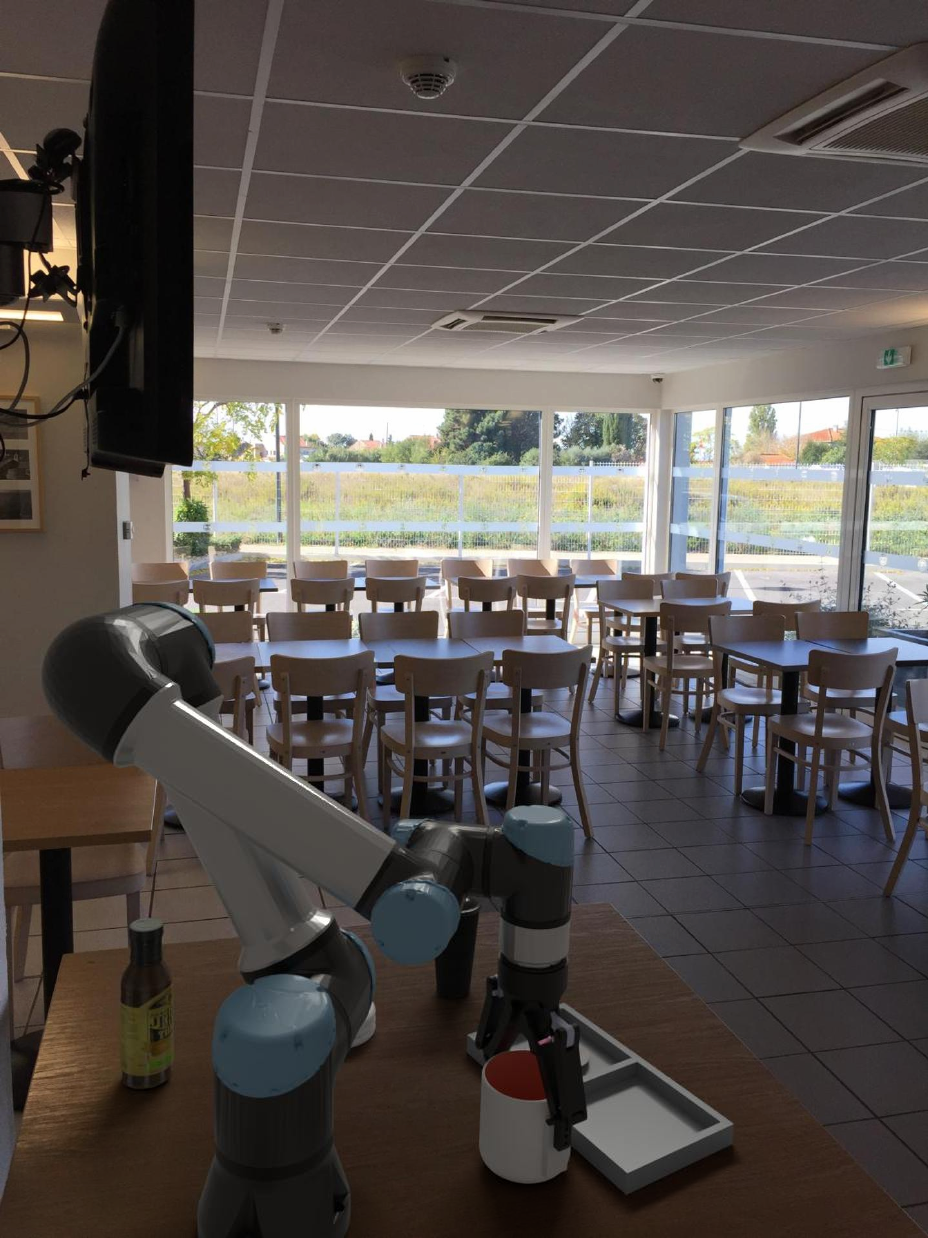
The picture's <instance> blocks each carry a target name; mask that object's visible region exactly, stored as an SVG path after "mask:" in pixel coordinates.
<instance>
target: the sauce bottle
mask: <svg viewBox="0 0 928 1238" xmlns="http://www.w3.org/2000/svg"><path fill="white" fill-rule="evenodd" d="M164 927H165V925H164V923H163V920H161V919H158V918H152V917H145V918H140V919H136V920H134V921H132V923H130V924H129V926H128V937H129V940H130V955H129V961H130V962H129V963H128V965H127V967H126V969H124V971H123V973H122V975H121V979H120V998H119V1015H120V1016H119V1029H120V1030H119V1032H120V1035H119V1036H120V1038H119V1039H120V1041H119V1043H120V1045H119V1047H120V1048H119V1049H120V1050H119V1051H120V1058H119V1059H120V1064H119V1065H120V1069H121V1079H122V1083H123V1084H124V1086H127V1087H128V1088H132V1089H135V1090H136V1089H137V1090H139V1089H140V1090H143V1089H144V1090H146V1089H150V1088H151V1089H152V1088H155V1087H157V1086H159V1085H161V1084H163V1083H164V1082H166V1081H168V1080H169V1079H170V1078H171V1076H172V1072H173V1062H174V981H173V975H172V971H171V969H170V967H169V966H168V964H167V963H166V962H165V960H164V959H163V958H164V953H163V936H164V933H165V929H164Z"/></svg>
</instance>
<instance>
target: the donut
mask: <svg viewBox="0 0 928 1238" xmlns="http://www.w3.org/2000/svg"><path fill="white" fill-rule="evenodd" d="M550 1040H551V1036H549V1037H548V1038H547V1039H544V1040H541V1041H538V1042H539V1045H540V1044H543V1043H546V1042H549V1041H550ZM526 1049H530V1048H529V1045H528V1046H527V1047H526ZM579 1052H580V1060H581V1066H584V1065H585V1064H586V1063H587V1062H588V1061H589V1059H590V1055H589V1053H588V1051H587V1050H586V1049H585V1048H584V1047H583V1046H581V1045H579Z"/></svg>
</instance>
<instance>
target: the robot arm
mask: <svg viewBox="0 0 928 1238" xmlns="http://www.w3.org/2000/svg"><path fill="white" fill-rule="evenodd" d="M45 652H46V653H45V654H44V655H45V656H44V658H43V661H42V666H41V687H42V691H43V694H44V698H45V701H46V702H47V704H48V707H49V708H50V710H51V712H52V714H53V715H54V717H55V718H56V719H57V720H58V721H59V723H60V724H61V725H62V726H63V727H64V728H65V729H66V730H67V731H68V732H69V733H70V734H71V735H72V736H74V737H75V739H76V740H78V741H79V742H80V743H82V744H83V745H84V746H85V747H87V748H88V749H90V750H91V751H92V752H94V753H95V754H96V755H97V756H99V757H101V758H103V759H104V760H106V761H107V762H109V763H110V764H112V765H113V766H115V767H116V768H118V769H122V768H128V767H132V766H133V767H137V768H138V769H139V770H141V771H143V773H145V774H147V775H148V776H150V777H152V779H155V780H156V781H158V782H159V783H160V784H161V786H162V788H163V790H164V793H165V794H166V797H167V798H168V800H169V802H170V804H171V805H172V808H173V810H174V812H175V814H176V817H178V820H179V822H180V824H181V825H182V827H183V829H184V831H185V834H186V836H187V838H188V840H189V842H190V844H191V845H192V847H193V849H194V852H195V853H196V855H197V857H198V859H199V861H200V863H201V866H202V867H203V868H204V869H203V870H204V871H205V873H206V875H207V878H208V879H209V881H210V883H211V885H212V886H213V889H214V891H215V893H216V894H217V897H218V899H219V901H220V903H221V904H222V906H223V909H224V910H225V913H226V915H227V916H228V919H229V921H230V922H231V925H232V926H233V929H234V930H235V933H236V935H237V937H238V939H239V940H240V942H241V944H242V945H241V946H242V949H241V953H240V956H239V958H238V961H237V968H238V971H239V973H240V975H241V976H242V978H243V981H244V983H245V984H242V985H241V986H240V987H238V988H237V989H236V990H234V991H233V992H232V993H231V994H229V996H228V997H227V998H226V999H225V1000H224V1001H223V1002H222V1004H221V1006H220V1008H219V1009H218V1011H217V1013H216V1016H215V1021H214V1026H213V1035H212V1044H211V1049H210V1051H211V1059H212V1068H213V1069H212V1074H213V1076H212V1077H213V1080H212V1081H213V1082H212V1083H213V1084H212V1085H213V1121H214V1123H213V1125H214V1127H213V1129H214V1156H213V1159H212V1162H211V1165H210V1167H209V1171H208V1173H207V1175H206V1176H207V1177H206V1180H205V1182H204V1186H203V1188H202V1192H201V1195H200V1198H199V1200H198V1207H197V1217H196V1218H197V1219H196V1220H197V1238H345V1236H346V1234H347V1231H348V1230H349V1227H350V1223H351V1216H352V1215H351V1214H352V1213H351V1204H352V1203H351V1202H352V1201H351V1199H352V1197H351V1189H350V1186H349V1185H350V1184H349V1181H348V1180H347V1176H346V1174H345V1171H344V1169H343V1165H342V1163H341V1160H340V1156H339V1155H338V1151H337V1149H336V1146H335V1143H334V1123H335V1122H334V1121H335V1120H334V1115H335V1114H334V1112H335V1111H334V1110H335V1109H334V1107H335V1106H334V1104H335V1101H334V1099H335V1096H334V1094H335V1093H334V1092H335V1083H336V1081H337V1076H338V1074H339V1072H340V1070H341V1068H342V1066H343V1064H344V1062H345V1059H346V1057H347V1055H348V1054H349V1051H350V1049H352V1048H351V1046H352V1044H353V1042H354V1039H355V1037H356V1035H357V1033H358V1031H359V1029H360V1027H361V1026H362V1025H363V1023H364V1022H365V1020H366V1018H367V1016H368V1014H369V1010H370V1008H371V1005H372V1001H373V1000H374V995H375V991H376V985H377V983H376V982H377V978H376V977H377V976H376V974H377V973H376V968H375V963H374V961H373V957H372V955H371V953H370V951H369V949H368V948H367V946H366V945H365V944H364V942H363V941H362V940H361V938H359V937H358V936H357V935H356V934H355V933H353V932H352V931H346V930H345V929H344V928H343V927H342V926H340V925H339V924H338V922H337V920H336V917H335V916H334V914H333V913H332V912H331V910H327V909H324V908H320V907H317V906H314V905H313V903H312V901H311V898H310V897H309V895H308V893H307V891H306V889H305V886H304V885H303V883H302V881H301V879H300V877H299V875H301V877H303V878H305V879H306V880H308V881H309V882H311V883H312V884H313V885H315V886H317V887H318V888H320V889H321V890H323V891H324V892H326V893H327V894H329V895H330V896H332V897H333V898H335V899H337V900H339V901H340V902H341V903H342V904H344V905H346V906H347V907H348V908H350V909H352V910H353V911H355V913H357V914H358V915H360V916H361V917H362V918H364V919H366V920H367V921H368V922H370V932H371V937H372V938H373V940H374V942H375V944H376V946H377V947H378V949H379V950H380V952H381V953H382V954H383V955H384V956H386V958H388V959H390V960H391V961H394V962H396V963H398V964H402V965H405V966H406V965H408V966H416V965H417V966H419V965H423V964H426V963H429V962H430V961H432V960H435V958H436V957H437V956H439V955H440V954H441V953H442V952H443V950H444V949H445V948H446V947H447V945H448V943H449V940H450V938H452V936H453V935H454V933H455V932H456V930H457V927H458V923H459V921H460V915H461V912H462V909H463V905H464V902H465V901H466V898H467V896H472V897H478V898H483V899H492V898H494V899H499V900H500V901H499V902H500V906H499V907H500V910H499V921H498V922H499V923H498V942H497V945H498V949H499V952H498V954H497V974H492V975H489V976H487V977H486V983H485V984H486V985H485V986H486V989H485V992H486V995H485V997H484V1003H483V1006H482V1011H481V1014H480V1019H479V1023H478V1027H477V1031H476V1032H477V1034H476V1038H475V1046H476V1048H477V1049H478V1050H480V1049H482V1051H483V1052H484V1054H483V1057H484V1060H485V1062H487V1061H488V1060H489V1059H490V1058H492V1057H493V1056H495V1055H497V1054H499V1053H502V1052H505V1051H509V1050H510V1049H511V1047H512V1045H513V1044H514V1042H515V1040H516V1038H517V1037H518V1035H519V1033H521V1034H523V1035H524V1036H525V1038H526V1039H527V1040H528V1044H529V1048H530V1051H531V1053H532V1054H534V1055H535V1056H536V1059H537V1063H538V1067H539V1071H540V1075H541V1079H542V1083H543V1087H544V1091H545V1095H546V1099H547V1103H548V1107H549V1112H550V1116H547V1117H545V1129H544V1149H543V1170H542V1174H543V1175H544V1176H545V1177H546V1178H549V1177H551V1176H553V1175H556V1174H558V1173H559V1174H560V1173H563V1172H566V1171H567V1170H568V1163H567V1160H568V1148H570V1145H571V1134H572V1126H573V1125H575V1124H578V1123H580V1122H583V1121H585V1120H587V1118H588V1115H587V1107H586V1099H585V1091H584V1084H583V1076H582V1068H581V1060H580V1052H579V1040H580V1027H579V1025H578V1024H577V1023H573V1024H570V1025H569V1024H567V1023H566V1022H565V1021H564V1020H563V1019H561V1012H560V1007H559V1004H560V1001H561V998H562V997H563V995H564V994H565V992H566V991H567V989H568V982H569V981H568V980H569V965H570V964H569V962H570V961H569V960H570V959H569V956H568V954H569V950H570V933H571V931H570V929H571V913H572V901H573V900H572V897H573V884H574V883H573V882H574V872H575V871H574V870H575V869H574V867H575V825H574V823H573V820H572V819H571V817H570V816H569V815H568V814H567V813H566V812H564V811H563V810H560V809H558V808H555V807H551V806H548V805H540V804H531V805H528V806H527V805H518V806H515V807H513V808H510V809H509V810H508V811H506V813H505V814H504V817H503V822H502V823H501V825H499V824H498V825H497V824H496V825H491V824H490V825H487V824H476V823H466V822H455V821H445V820H437V819H436V820H435V819H433V818H428V817H427V818H423V819H417V818H416V819H414V818H413V819H412V818H411V819H409V818H408V819H407V818H404V819H400V820H398V821H397V822H396V823H395V824H394V825H393V826H392V829H391V831H390V836H389V835H387V834H386V833H384V832H383V831H381V830H380V829H379V828H378V827H377V828H376V827H375V826H374V825H373V824H371V823H370V822H368V821H366V820H364V819H363V818H362V817H360V816H359V815H357V814H356V813H355V812H353V811H351V810H350V809H348V808H346V806H344V805H342V804H341V803H339V802H337V801H336V800H334V799H333V798H332V797H330V796H329V795H327V794H326V793H324V792H322V791H321V790H320V789H318V788H317V787H315V786H313V785H312V784H311V783H309V782H307V781H306V780H304V779H303V778H301V777H300V776H298V775H297V774H295V773H293V772H292V771H290V770H289V769H288V768H286V767H284V766H283V765H282V764H280V763H279V762H277V761H276V760H275V759H273V758H271V757H270V756H268V755H267V754H265V753H263V751H260V750H259V749H258V748H256V747H255V746H253V745H252V744H250V743H249V742H247V741H245V740H244V739H242V738H241V737H240V736H238V735H236V734H234V733H233V732H232V731H230V730H229V729H227V728H226V727H224V726H223V723H222V722H221V720H220V716H219V713H220V710H221V707H222V703H223V700H224V698H225V696H224V694H223V692H222V690H221V688H220V686H219V683H218V682H217V680H216V677H215V676H214V674H213V673H214V668H215V662H216V660H217V659H216V655H217V654H216V653H217V652H216V646H215V642H214V639H213V637H212V634H211V631H210V630H209V628H208V627H207V626H206V625H205V623H204V621H203V620H202V619H200V617H198V616H197V615H196V614H195V613H193V611H191V610H189V609H188V608H186V607H184V606H182V605H178V604H176V603H172V602H168V601H141V602H135V603H132V604H131V605H128V606H123V607H120V608H117V609H113V610H109V611H107V612H103V613H100V614H93V615H89V616H86V617H83V618H80V619H78V620H76V621H74V622H73V623H70V624H69V625H67V626H66V627H65V628H64V629H62V630H61V631H60V632H59V633H58V634H57V635H56V636H55V637H54V639H53V640H52V641H51V643H50V645H49V647H48V648H47V650H46V651H45ZM373 1002H374V1001H373ZM488 1034H489V1035H488ZM549 1036H551V1040H550V1041H549V1042H546V1043H543V1044H540V1045H539V1042H538V1041H541V1040H544V1039H547V1038H548V1037H549ZM559 1107H560V1109H559ZM568 1161H569V1160H568ZM559 1174H558V1175H559ZM556 1176H557V1175H556Z"/></svg>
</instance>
